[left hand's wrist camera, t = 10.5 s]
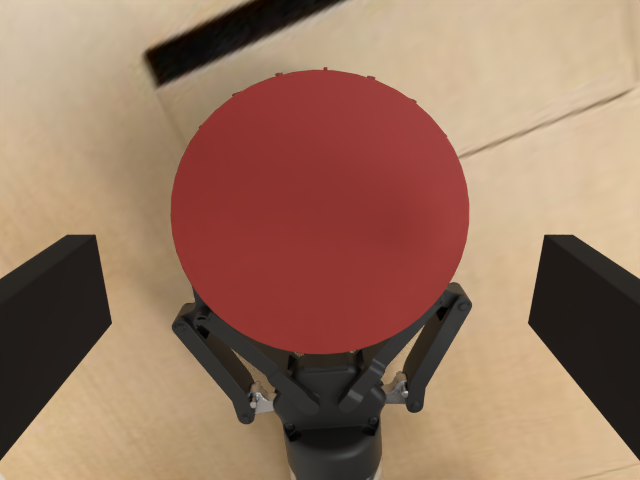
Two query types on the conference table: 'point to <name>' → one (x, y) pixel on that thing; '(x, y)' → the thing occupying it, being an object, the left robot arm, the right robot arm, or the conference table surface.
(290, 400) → the right robot arm
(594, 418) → the conference table surface
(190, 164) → the lid
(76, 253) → the left robot arm
